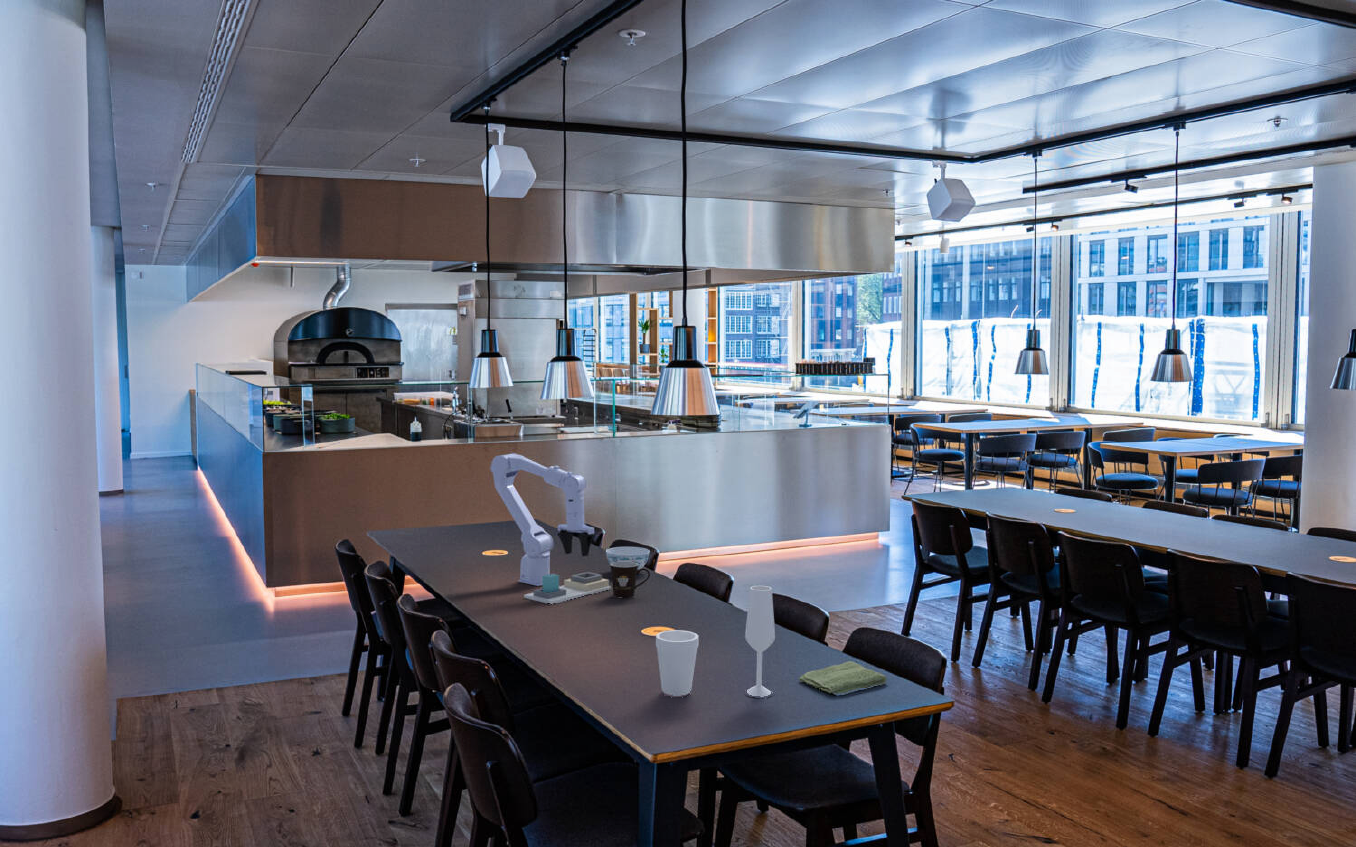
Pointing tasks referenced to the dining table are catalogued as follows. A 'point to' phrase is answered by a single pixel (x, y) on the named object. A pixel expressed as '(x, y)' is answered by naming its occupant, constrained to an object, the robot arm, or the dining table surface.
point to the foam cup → (676, 660)
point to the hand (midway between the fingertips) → (576, 554)
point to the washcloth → (843, 678)
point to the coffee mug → (625, 578)
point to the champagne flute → (760, 630)
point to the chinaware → (628, 555)
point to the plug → (550, 583)
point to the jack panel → (572, 588)
